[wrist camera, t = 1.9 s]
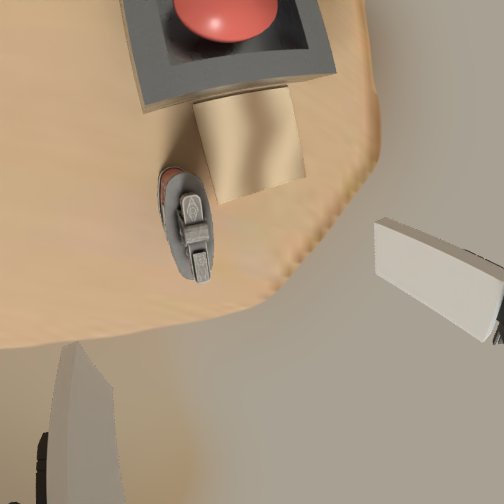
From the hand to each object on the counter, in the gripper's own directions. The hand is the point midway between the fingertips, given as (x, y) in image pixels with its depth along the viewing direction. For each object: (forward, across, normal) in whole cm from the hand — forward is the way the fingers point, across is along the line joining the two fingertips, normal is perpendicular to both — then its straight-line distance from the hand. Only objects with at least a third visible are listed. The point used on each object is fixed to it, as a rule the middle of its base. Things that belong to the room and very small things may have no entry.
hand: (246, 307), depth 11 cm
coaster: (+18, +9, +4) cm, 21 cm away
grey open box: (+18, +8, +18) cm, 27 cm away
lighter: (+18, 0, 0) cm, 19 cm away
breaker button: (+14, +8, +18) cm, 24 cm away
